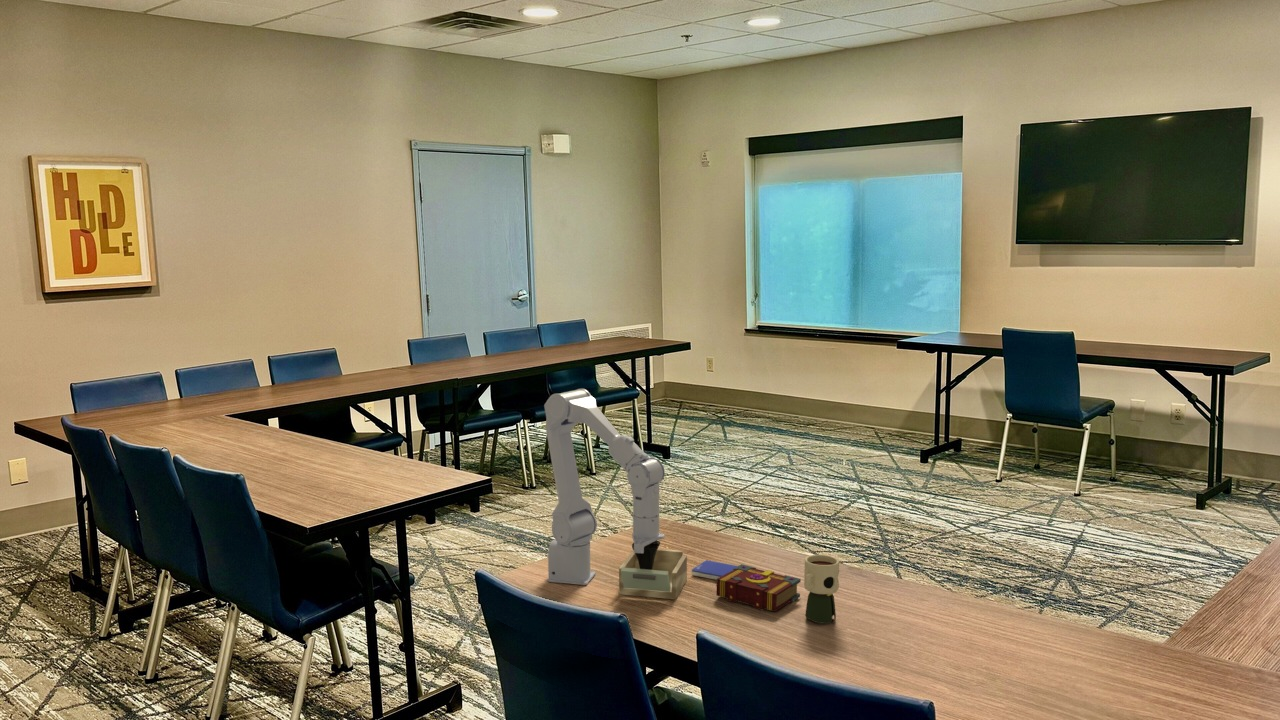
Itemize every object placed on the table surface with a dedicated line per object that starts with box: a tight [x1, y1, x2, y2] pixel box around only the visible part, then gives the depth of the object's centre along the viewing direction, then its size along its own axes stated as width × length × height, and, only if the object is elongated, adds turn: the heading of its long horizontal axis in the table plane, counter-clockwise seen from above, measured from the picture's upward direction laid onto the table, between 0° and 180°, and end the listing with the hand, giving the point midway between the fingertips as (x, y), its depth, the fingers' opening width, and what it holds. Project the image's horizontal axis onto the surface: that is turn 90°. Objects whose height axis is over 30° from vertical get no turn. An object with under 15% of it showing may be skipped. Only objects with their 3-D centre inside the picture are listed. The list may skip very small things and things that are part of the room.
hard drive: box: [691, 559, 738, 581], centre depth 231 cm, size 2×8×12 cm
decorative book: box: [715, 563, 801, 612], centre depth 217 cm, size 11×16×5 cm
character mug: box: [803, 554, 840, 624], centre depth 204 cm, size 11×7×13 cm, turn 137°
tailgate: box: [621, 567, 671, 592], centre depth 215 cm, size 10×2×6 cm, turn 76°
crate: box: [618, 548, 688, 600], centre depth 223 cm, size 13×12×7 cm
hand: (646, 574), depth 216 cm, fingers closed, pressing on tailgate
